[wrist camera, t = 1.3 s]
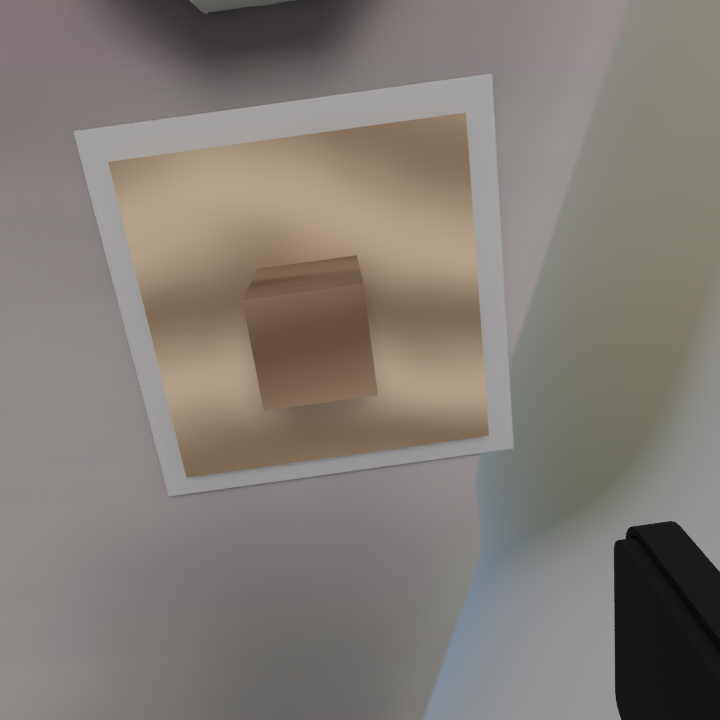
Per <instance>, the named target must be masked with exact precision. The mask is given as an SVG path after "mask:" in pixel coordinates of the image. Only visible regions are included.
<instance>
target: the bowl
mask: <svg viewBox="0 0 720 720" xmlns="http://www.w3.org/2000/svg"><path fill="white" fill-rule="evenodd" d="M189 1H190V2H191V3H192V4H194V5H195V6H196V7H197V8H198V9H199V10H200V11H201V12H202V13H206V14H208V12H215V11H223V10H230V9H237V8H244V7H254V6H269V5H274V4H278V3H283V2H288V1H295V0H189Z"/></svg>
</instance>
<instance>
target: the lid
mask: <svg viewBox="0 0 720 720" xmlns="http://www.w3.org/2000/svg"><path fill="white" fill-rule="evenodd" d="M108 163H109V167H110V171H111V175H112V179H113V183H114V188H115V192H116V196H117V200H118V204H119V208H120V212H121V216H122V220H123V224H124V228H125V232H126V236H127V240H128V244H129V248H130V252H131V256H132V260H133V264H134V268H135V272H136V276H137V280H138V284H139V288H140V292H141V296H142V300H143V304H144V309H145V313H146V317H147V321H148V325H149V329H150V333H151V337H152V341H153V345H154V349H155V353H156V357H157V361H158V365H159V369H160V373H161V377H162V381H163V385H164V389H165V393H166V397H167V401H168V405H169V409H170V413H171V417H172V421H173V425H174V430H175V434H176V438H177V442H178V446H179V450H180V454H181V458H182V462H183V466H184V470H185V474H186V478H187V477H195V476H202V475H209V474H216V473H223V472H231V471H238V470H245V469H252V468H259V467H267V466H274V465H281V464H288V463H295V462H303V461H310V460H317V459H324V458H331V457H338V456H346V455H353V454H360V453H367V452H374V451H382V450H389V449H396V448H403V447H410V446H418V445H425V444H432V443H439V442H446V441H453V440H461V439H468V438H475V437H482V436H489V429H488V415H487V401H486V387H485V373H484V359H483V345H482V331H481V317H480V303H479V289H478V275H477V261H476V247H475V233H474V219H473V205H472V191H471V177H470V163H469V149H468V135H467V121H466V113H458V114H451V115H444V116H436V117H429V118H422V119H415V120H407V121H400V122H393V123H386V124H378V125H371V126H364V127H357V128H350V129H342V130H335V131H328V132H321V133H313V134H306V135H299V136H292V137H284V138H277V139H270V140H263V141H255V142H248V143H241V144H234V145H227V146H219V147H212V148H205V149H198V150H190V151H183V152H176V153H169V154H161V155H154V156H147V157H140V158H132V159H125V160H118V161H111V162H108Z"/></svg>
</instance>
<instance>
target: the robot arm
mask: <svg viewBox="0 0 720 720" xmlns="http://www.w3.org/2000/svg"><path fill="white" fill-rule="evenodd" d="M614 593H615V594H614V598H615V599H614V602H615V693H616V702H617V706H618V711H619V714H620V717H621V720H720V572H719V571H718V569H717V568H716V567H715V566H714V565H713V564H712V563H711V562H710V560H709V559H708V558H707V557H706V556H705V554H704V553H703V552H702V551H701V550H700V549H699V547H698V546H697V545H696V544H695V543H694V542H693V541H692V539H691V538H690V537H689V536H688V535H687V534H686V532H685V531H684V530H683V529H682V528H681V527H680V526H679V525H678V524H677V523H676V522H672V521H669V522H662V523H655V524H648V525H641V526H633V527H630V528H629V529H628V531H627V533H626V539H623V540H618V541H616V542H615V545H614Z"/></svg>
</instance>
